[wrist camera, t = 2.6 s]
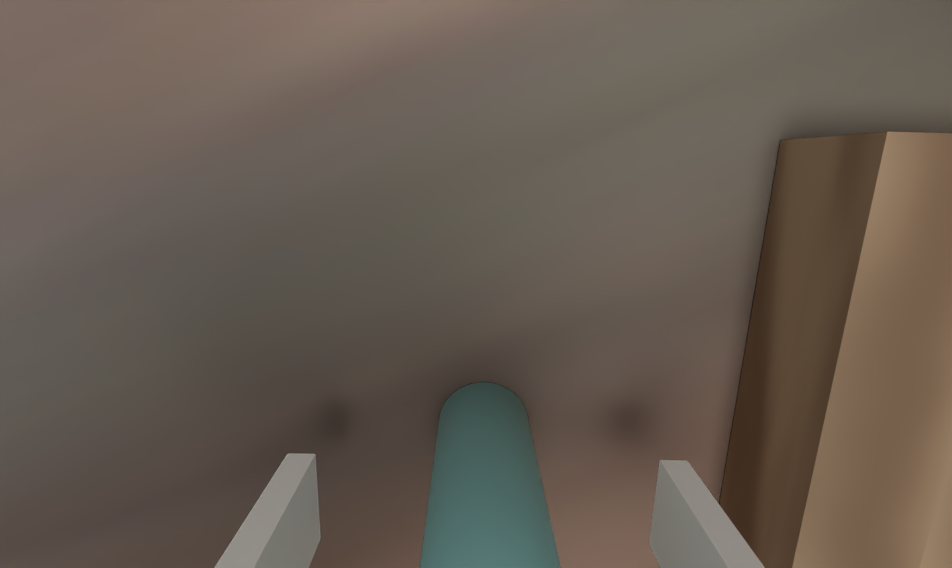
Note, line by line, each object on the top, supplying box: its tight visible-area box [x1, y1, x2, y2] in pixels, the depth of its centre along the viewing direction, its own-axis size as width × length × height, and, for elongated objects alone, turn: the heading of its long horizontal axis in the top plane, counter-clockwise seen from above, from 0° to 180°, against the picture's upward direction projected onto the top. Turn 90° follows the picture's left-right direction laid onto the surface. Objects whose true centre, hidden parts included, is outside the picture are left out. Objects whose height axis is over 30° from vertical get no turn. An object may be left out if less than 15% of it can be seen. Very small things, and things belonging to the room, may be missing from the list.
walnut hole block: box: [719, 132, 952, 568], centre depth 16 cm, size 12×20×4 cm, turn 179°
